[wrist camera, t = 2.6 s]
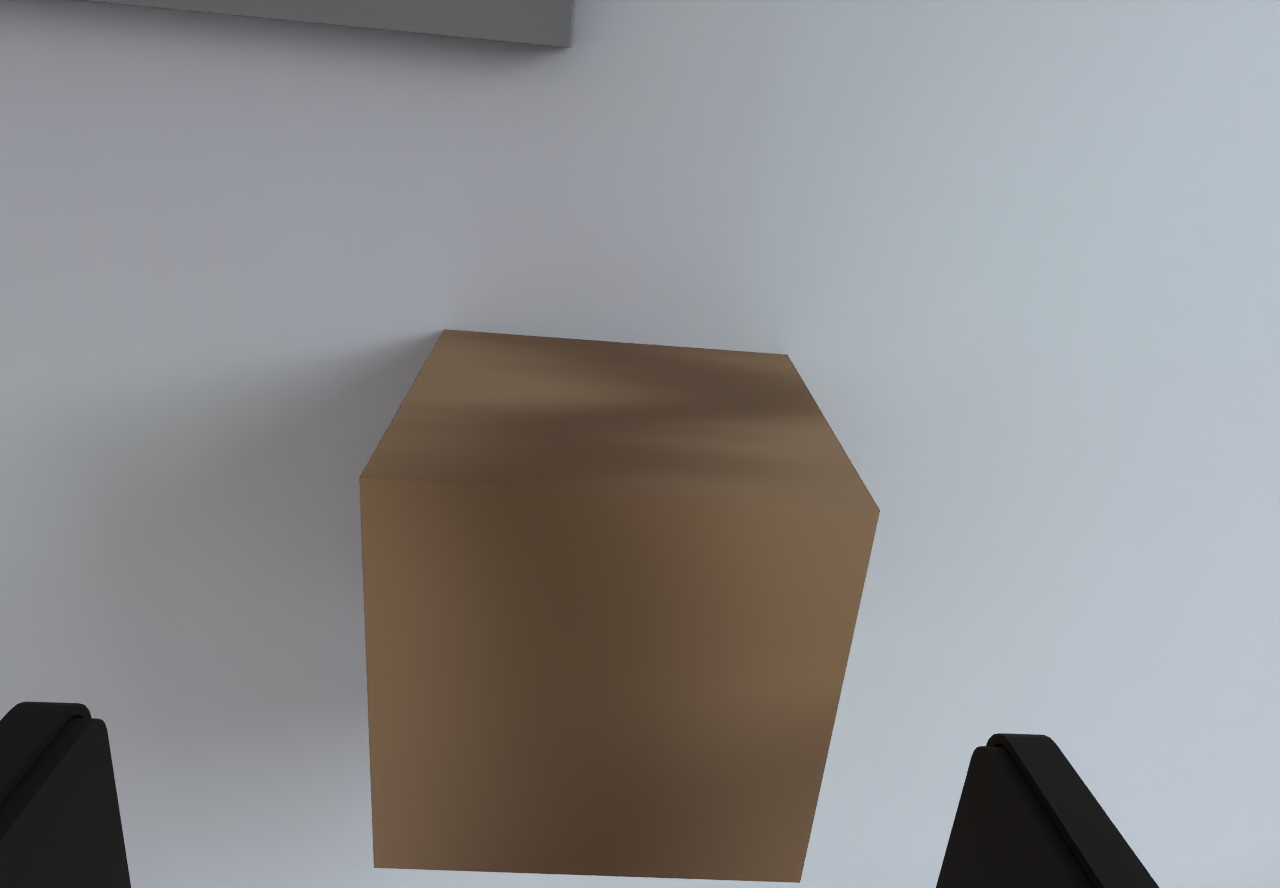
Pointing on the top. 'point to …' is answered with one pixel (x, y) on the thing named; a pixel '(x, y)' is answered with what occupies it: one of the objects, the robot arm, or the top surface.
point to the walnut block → (606, 610)
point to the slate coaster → (408, 15)
